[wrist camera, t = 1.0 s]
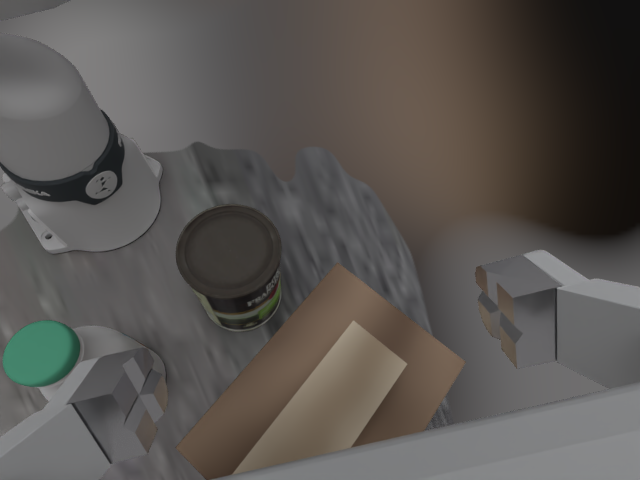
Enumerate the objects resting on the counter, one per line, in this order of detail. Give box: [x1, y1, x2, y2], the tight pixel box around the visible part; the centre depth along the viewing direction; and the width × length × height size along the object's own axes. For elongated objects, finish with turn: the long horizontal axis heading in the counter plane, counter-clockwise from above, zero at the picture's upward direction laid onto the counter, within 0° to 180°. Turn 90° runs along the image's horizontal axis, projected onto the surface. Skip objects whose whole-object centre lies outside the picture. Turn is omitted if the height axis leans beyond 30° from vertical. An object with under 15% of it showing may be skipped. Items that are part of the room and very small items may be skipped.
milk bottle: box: [3, 320, 166, 401], centre depth 37 cm, size 8×8×20 cm
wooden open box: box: [176, 262, 465, 480], centre depth 34 cm, size 10×14×26 cm
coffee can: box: [176, 204, 281, 331], centre depth 45 cm, size 10×10×14 cm
